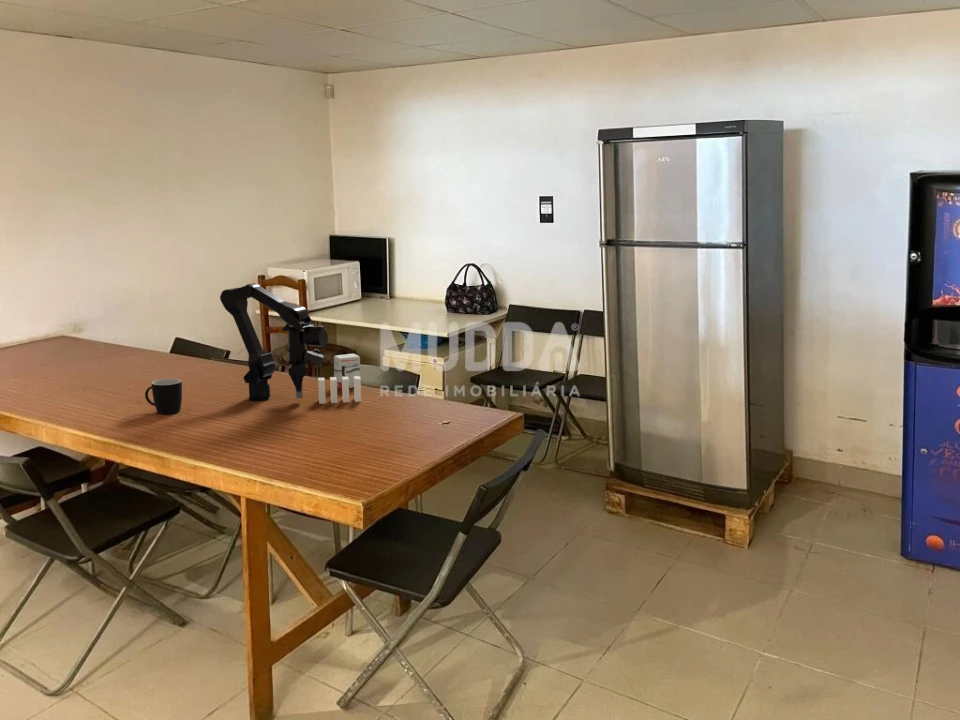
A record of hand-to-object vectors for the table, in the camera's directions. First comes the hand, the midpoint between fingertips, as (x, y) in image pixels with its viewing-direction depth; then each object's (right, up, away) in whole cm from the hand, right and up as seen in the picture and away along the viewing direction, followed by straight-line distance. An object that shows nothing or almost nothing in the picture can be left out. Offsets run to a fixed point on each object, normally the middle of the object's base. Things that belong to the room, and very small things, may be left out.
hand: (298, 389), depth 262 cm
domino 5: (+19, -4, +5) cm, 20 cm away
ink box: (+12, 0, +24) cm, 27 cm away
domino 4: (+15, -4, +4) cm, 16 cm away
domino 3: (+11, -4, +4) cm, 12 cm away
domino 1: (0, -2, 0) cm, 2 cm away
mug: (-41, -7, -12) cm, 43 cm away
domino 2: (+7, -4, +3) cm, 9 cm away
